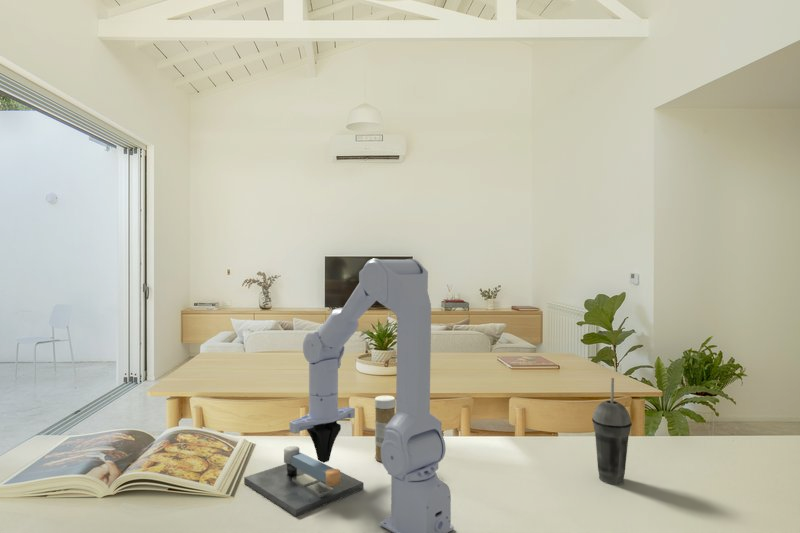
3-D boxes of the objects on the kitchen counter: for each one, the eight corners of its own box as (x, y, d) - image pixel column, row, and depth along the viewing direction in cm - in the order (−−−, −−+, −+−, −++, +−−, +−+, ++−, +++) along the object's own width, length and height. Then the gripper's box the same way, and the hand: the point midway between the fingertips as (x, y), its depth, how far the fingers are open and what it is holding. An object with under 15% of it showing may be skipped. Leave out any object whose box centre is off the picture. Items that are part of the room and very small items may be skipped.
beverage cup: (589, 482, 101) (589, 380, 101) (594, 469, 107) (594, 373, 107) (629, 490, 97) (630, 385, 97) (632, 476, 104) (633, 377, 104)
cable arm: (344, 482, 92) (344, 468, 92) (330, 487, 90) (330, 473, 90) (294, 457, 104) (294, 445, 104) (281, 461, 102) (280, 448, 102)
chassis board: (363, 489, 98) (363, 471, 98) (296, 516, 87) (295, 496, 87) (308, 462, 111) (308, 446, 111) (244, 483, 100) (244, 465, 100)
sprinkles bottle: (399, 460, 112) (399, 398, 112) (381, 464, 109) (381, 401, 109) (388, 453, 116) (388, 393, 116) (370, 457, 113) (370, 396, 113)
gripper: (340, 383, 111) (340, 445, 111) (280, 395, 100) (280, 464, 101) (361, 389, 106) (361, 455, 106) (301, 402, 95) (301, 475, 96)
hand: (323, 460), depth 103 cm, fingers closed
